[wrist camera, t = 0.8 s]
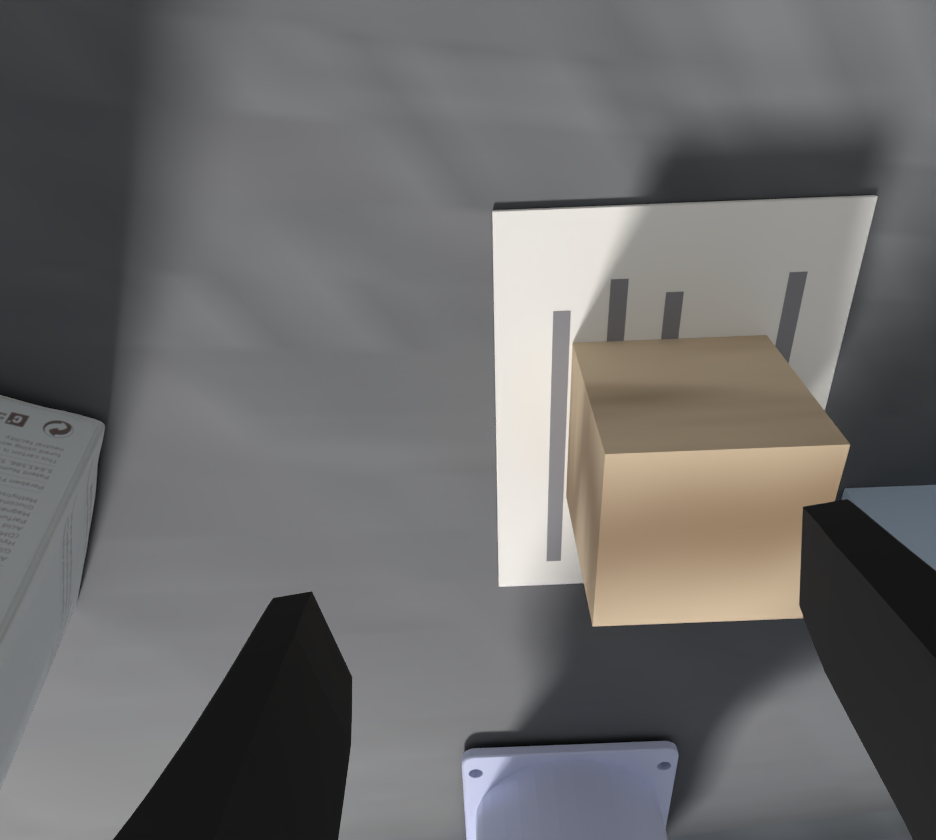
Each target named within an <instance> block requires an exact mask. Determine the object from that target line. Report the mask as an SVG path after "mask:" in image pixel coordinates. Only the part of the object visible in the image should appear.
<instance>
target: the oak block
mask: <svg viewBox="0 0 936 840" xmlns="http://www.w3.org/2000/svg"><path fill="white" fill-rule="evenodd" d="M849 448H850V443H849V442H848V441H847V439H846V438H845V437H844V436H843V434H842V433H841V432H840V430H839V429H838V428H837V426H836V425H835V424H834V422H833V421H832V420H831V419H830V417H829V416H828V415H827V413H826V412H825V411H824V409H823V408H822V407H821V405H820V404H819V403H818V402H817V400H816V399H815V398H814V396H813V395H812V394H811V392H810V391H809V390H808V388H807V387H806V386H805V385H804V383H803V382H802V381H801V379H800V378H799V377H798V375H797V374H796V373H795V371H794V370H793V369H792V368H791V366H790V365H789V364H788V362H787V361H786V360H785V358H784V357H783V356H782V354H781V353H780V352H779V351H778V349H777V348H776V347H775V345H774V344H773V343H772V341H771V340H770V339H769V337H768V336H767V335H758V336H733V337H707V338H682V339H657V340H632V341H606V342H581V343H573V344H572V368H571V392H570V415H569V439H568V463H567V487H566V499H567V503H568V508H569V513H570V518H571V523H572V528H573V533H574V538H575V543H576V548H577V553H578V558H579V562H580V567H581V572H582V577H583V582H584V587H585V592H586V597H587V602H588V607H589V612H590V616H591V621H592V626H618V625H644V624H669V623H694V622H720V621H745V620H770V619H796V618H803V614H802V611H801V609H800V606H799V595H800V569H801V542H802V515H803V507H804V506H810V505H816V504H822V503H828V502H833V501H835V499H836V495H837V491H838V488H839V484H840V480H841V477H842V473H843V469H844V466H845V462H846V459H847V455H848V451H849Z"/></svg>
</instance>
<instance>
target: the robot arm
mask: <svg viewBox="0 0 936 840" xmlns="http://www.w3.org/2000/svg"><path fill="white" fill-rule="evenodd" d="M799 606H800V609H801V611H802V614H803V617H804V619H805V622H806V625H807V627H808V630H809V633H810V635H811V638H812V641H813V643H814V646H815V648H816V651H817V653H818V656H819V658H820V661H821V663H822V666H823V668H824V671H825V673H826V675H827V677H828V679H829V681H830V682H831V684H832V686H833V688H834V690H835V692H836V694H837V696H838V698H839V700H840V702H841V704H842V705H843V707H844V709H845V711H846V713H847V715H848V717H849V719H850V721H851V723H852V724H853V726H854V728H855V730H856V732H857V734H858V736H859V738H860V739H861V741H862V743H863V745H864V747H865V749H866V751H867V753H868V754H869V756H870V758H871V760H872V762H873V764H874V766H875V768H876V769H877V771H878V773H879V775H880V777H881V779H882V781H883V783H884V784H885V786H886V788H887V790H888V792H889V794H890V796H891V798H892V799H893V801H894V803H895V805H896V807H897V809H898V811H899V813H900V814H901V816H902V818H903V820H904V822H905V824H906V826H907V828H908V830H909V832H910V834H911V836H912V838H913V840H936V570H934V569H933V568H932V567H931V566H929V565H928V564H927V563H926V562H924V561H923V560H922V559H921V558H920V557H918V556H917V555H916V554H915V553H913V552H912V551H911V550H910V549H908V548H907V547H906V546H905V545H903V544H902V543H901V542H900V541H899V540H897V539H896V538H895V537H894V536H892V535H891V534H890V533H889V532H888V531H886V530H885V529H884V528H883V527H882V526H880V525H879V524H878V523H877V522H876V521H874V520H873V519H872V518H871V517H870V516H868V515H867V514H866V513H865V512H864V511H862V510H861V509H860V508H859V507H858V506H856V505H855V504H854V503H852V502H851V501H849V500H848V499H845V500H839V501H833V502H828V503H822V504H816V505H810V506H804V507H803V515H802V542H801V569H800V595H799ZM351 723H352V676H351V674H350V672H349V670H348V667H347V665H346V663H345V661H344V659H343V657H342V655H341V653H340V650H339V648H338V646H337V644H336V642H335V640H334V638H333V635H332V633H331V631H330V629H329V627H328V625H327V623H326V621H325V618H324V616H323V614H322V612H321V610H320V608H319V606H318V604H317V601H316V599H315V597H314V595H313V593H312V592H306V593H301V594H295V595H289V596H283V597H277V598H273V599H272V601H271V602H270V604H269V605H268V607H267V608H266V610H265V612H264V613H263V615H262V616H261V618H260V620H259V621H258V623H257V625H256V626H255V628H254V630H253V631H252V633H251V635H250V637H249V638H248V640H247V642H246V643H245V645H244V647H243V648H242V650H241V652H240V653H239V655H238V657H237V658H236V660H235V662H234V663H233V665H232V667H231V668H230V670H229V672H228V673H227V675H226V676H225V678H224V680H223V681H222V683H221V685H220V686H219V688H218V689H217V691H216V693H215V694H214V696H213V697H212V699H211V700H210V702H209V704H208V705H207V707H206V708H205V710H204V711H203V713H202V715H201V716H200V718H199V719H198V721H197V723H196V724H195V726H194V727H193V729H192V730H191V732H190V733H189V735H188V736H187V738H186V739H185V741H184V742H183V744H182V745H181V747H180V748H179V750H178V751H177V752H176V754H175V755H174V757H173V758H172V760H171V761H170V763H169V764H168V765H167V767H166V768H165V770H164V771H163V773H162V774H161V776H160V777H159V778H158V780H157V781H156V783H155V784H154V786H153V787H152V789H151V790H150V791H149V793H148V794H147V795H146V797H145V798H144V800H143V801H142V802H141V804H140V805H139V806H138V808H137V809H136V810H135V812H134V813H133V814H132V816H131V817H130V818H129V820H128V821H127V822H126V824H125V825H124V826H123V827H122V829H121V830H120V831H119V833H118V834H117V835H116V836H115V838H114V839H113V840H338V836H339V828H340V821H341V814H342V807H343V800H344V793H345V785H346V778H347V770H348V763H349V755H350V747H351ZM678 757H679V755H678V750H677V747H676V745H675V744H674V743H672V742H670V741H646V742H620V743H595V744H569V745H544V746H519V747H493V748H473V749H469V750H467V751H465V752H464V753H463V754H462V776H463V792H464V808H465V824H466V840H668V838H667V834H666V824H667V819H668V813H669V807H670V802H671V796H672V791H673V785H674V780H675V774H676V768H677V763H678Z"/></svg>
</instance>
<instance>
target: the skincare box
mask: <svg viewBox="0 0 936 840" xmlns="http://www.w3.org/2000/svg"><path fill="white" fill-rule="evenodd" d="M104 431H105V425H104V423H103V422H101V421H99V420H96V419H93V418H90V417H86V416H82V415H79V414H75V413H71V412H66V411H62V410H57V409H51V408H47V407H43V406H39V405H35V404H31V403H27V402H24V401H20V400H16V399H13V398H9V397H6V396H2V395H0V789H1V786H2V784H3V781H4V779H5V776H6V774H7V771H8V769H9V767H10V764H11V762H12V759H13V757H14V754H15V752H16V749H17V747H18V745H19V742H20V740H21V737H22V735H23V732H24V730H25V728H26V725H27V723H28V720H29V718H30V716H31V713H32V711H33V708H34V706H35V703H36V701H37V699H38V696H39V694H40V691H41V689H42V686H43V684H44V682H45V679H46V677H47V674H48V672H49V669H50V667H51V665H52V662H53V660H54V657H55V655H56V652H57V650H58V648H59V645H60V643H61V640H62V638H63V635H64V633H65V630H66V628H67V625H68V623H69V621H70V618H71V616H72V614H73V612H74V610H75V608H76V605H77V600H78V594H79V589H80V583H81V578H82V572H83V567H84V561H85V556H86V551H87V544H88V537H89V530H90V525H91V519H92V513H93V507H94V501H95V493H96V483H97V468H98V460H99V454H100V450H101V446H102V441H103V437H104Z"/></svg>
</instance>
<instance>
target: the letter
mask: <svg viewBox="0 0 936 840" xmlns="http://www.w3.org/2000/svg"><path fill="white" fill-rule="evenodd" d="M877 197H878V196H876V195H864V196H839V197H814V198H788V199H763V200H738V201H713V202H687V203H662V204H637V205H612V206H587V207H561V208H536V209H511V210H492V220H493V278H494V336H495V394H496V452H497V510H498V568H499V587H502V586H527V585H552V584H578V583H584V582H583V577H582V572H581V567H580V562H579V558H578V553H577V548H576V543H575V538H574V533H573V528H572V523H571V518H570V513H569V508H568V503H567V499H566V487H567V463H568V439H569V415H570V392H571V368H572V344H573V343H581V342H606V341H632V340H657V339H682V338H707V337H733V336H758V335H767V336H768V337H769V339H770V340H771V341H772V343H773V344H774V345H775V347H776V348H777V349H778V351H779V352H780V353H781V354H782V356H783V357H784V358H785V360H786V361H787V362H788V364H789V365H790V366H791V368H792V369H793V370H794V371H795V373H796V374H797V375H798V377H799V378H800V379H801V381H802V382H803V383H804V385H805V386H806V387H807V388H808V390H809V391H810V392H811V394H812V395H813V396H814V398H815V399H816V400H817V402H818V403H819V404H820V405H821V407H822V408H823V409H824V411H825V408H826V404H827V400H828V396H829V392H830V388H831V384H832V380H833V376H834V372H835V367H836V363H837V359H838V355H839V351H840V347H841V343H842V339H843V335H844V331H845V327H846V323H847V319H848V315H849V311H850V307H851V303H852V299H853V295H854V290H855V286H856V282H857V278H858V274H859V270H860V266H861V262H862V258H863V254H864V250H865V246H866V242H867V238H868V234H869V230H870V226H871V222H872V217H873V213H874V209H875V205H876V201H877Z"/></svg>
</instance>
